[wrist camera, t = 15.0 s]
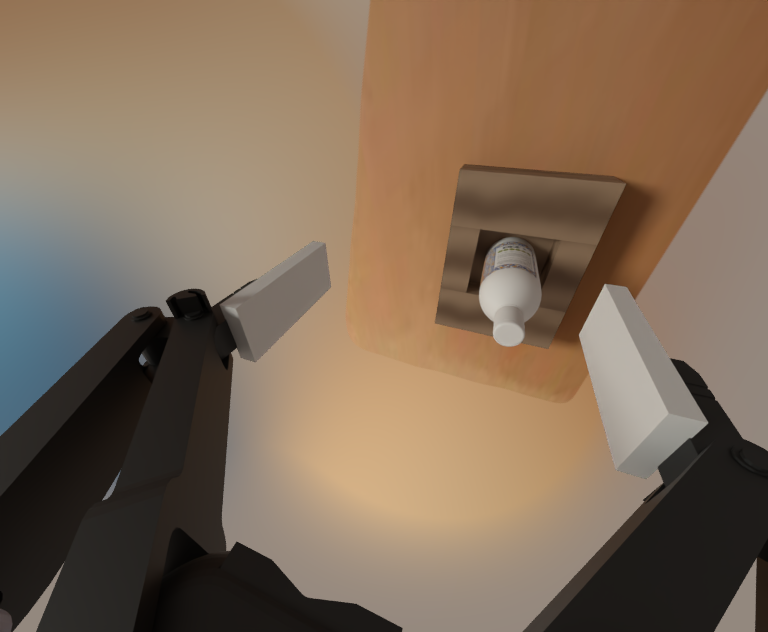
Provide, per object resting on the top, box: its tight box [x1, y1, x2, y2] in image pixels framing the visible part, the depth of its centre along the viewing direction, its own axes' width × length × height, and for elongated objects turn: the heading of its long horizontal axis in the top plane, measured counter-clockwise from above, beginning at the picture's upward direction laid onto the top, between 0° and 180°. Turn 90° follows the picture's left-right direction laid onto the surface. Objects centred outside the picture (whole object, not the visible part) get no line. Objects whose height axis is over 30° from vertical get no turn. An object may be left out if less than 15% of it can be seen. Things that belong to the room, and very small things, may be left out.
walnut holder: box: [435, 164, 626, 349], centre depth 43 cm, size 24×18×5 cm
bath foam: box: [479, 237, 542, 346], centre depth 36 cm, size 7×7×20 cm
